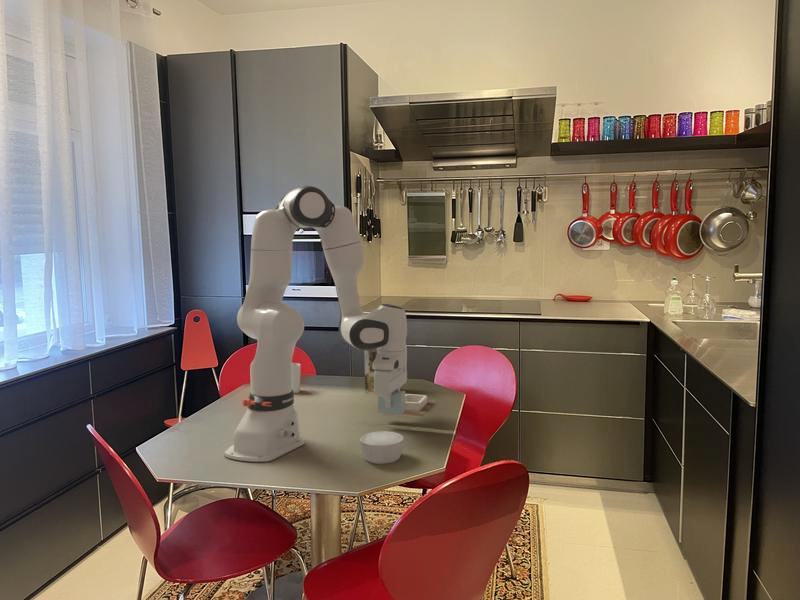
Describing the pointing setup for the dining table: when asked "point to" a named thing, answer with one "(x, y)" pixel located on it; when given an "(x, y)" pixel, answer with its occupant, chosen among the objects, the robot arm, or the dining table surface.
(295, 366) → the drinking glass
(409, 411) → the walnut board
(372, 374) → the coffee box
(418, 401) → the socket
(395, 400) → the keyed plug
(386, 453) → the ramekin
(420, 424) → the dining table surface
